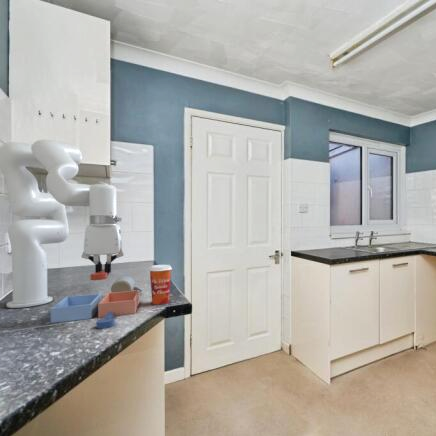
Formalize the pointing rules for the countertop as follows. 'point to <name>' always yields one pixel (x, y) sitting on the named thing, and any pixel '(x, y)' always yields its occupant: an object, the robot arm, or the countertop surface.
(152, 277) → the paper cup
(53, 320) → the slate bin
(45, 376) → the countertop surface
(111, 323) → the slate spoon
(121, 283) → the ceramic mug
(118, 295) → the clay bin
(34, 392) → the countertop surface
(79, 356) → the countertop surface
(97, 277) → the clay spoon
